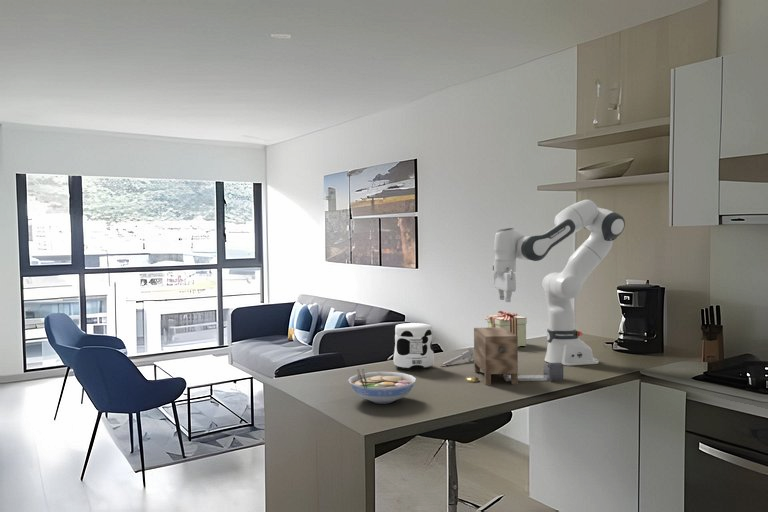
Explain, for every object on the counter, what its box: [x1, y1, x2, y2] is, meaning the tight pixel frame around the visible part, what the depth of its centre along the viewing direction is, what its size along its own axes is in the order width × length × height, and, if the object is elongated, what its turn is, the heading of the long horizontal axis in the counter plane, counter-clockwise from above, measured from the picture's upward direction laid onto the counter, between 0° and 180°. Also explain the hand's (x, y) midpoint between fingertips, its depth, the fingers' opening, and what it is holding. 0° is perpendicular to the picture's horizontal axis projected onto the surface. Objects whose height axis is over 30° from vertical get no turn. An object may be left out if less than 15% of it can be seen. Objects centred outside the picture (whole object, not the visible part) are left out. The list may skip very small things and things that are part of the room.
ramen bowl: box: [347, 368, 417, 405], centre depth 195 cm, size 25×23×8 cm
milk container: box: [392, 322, 435, 371], centre depth 245 cm, size 17×17×18 cm
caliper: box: [441, 347, 474, 365], centre depth 254 cm, size 20×1×6 cm, turn 130°
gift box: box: [484, 310, 527, 347], centre depth 295 cm, size 17×18×17 cm
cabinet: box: [473, 327, 519, 386], centre depth 226 cm, size 12×23×18 cm, turn 2°
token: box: [465, 376, 480, 383], centre depth 222 cm, size 5×5×1 cm
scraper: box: [502, 362, 564, 383], centre depth 224 cm, size 22×9×6 cm, turn 88°
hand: (504, 300), depth 240 cm, fingers open, 8 cm apart
